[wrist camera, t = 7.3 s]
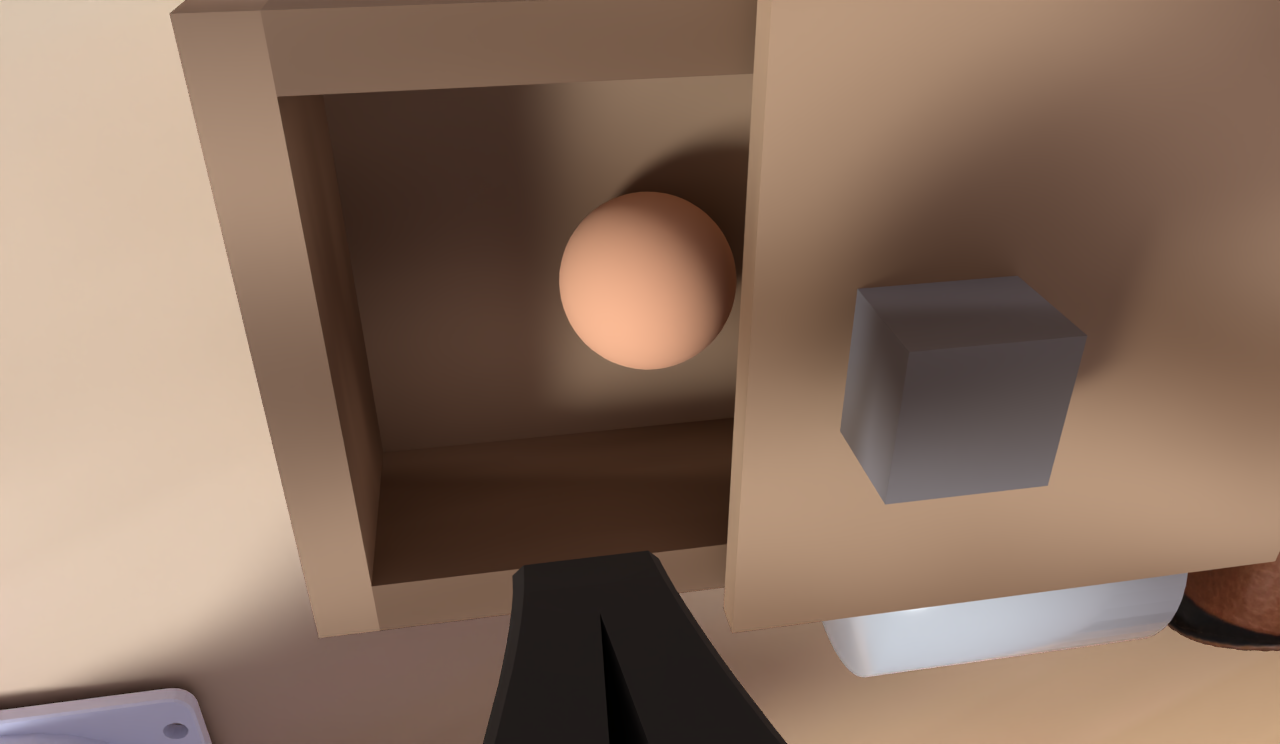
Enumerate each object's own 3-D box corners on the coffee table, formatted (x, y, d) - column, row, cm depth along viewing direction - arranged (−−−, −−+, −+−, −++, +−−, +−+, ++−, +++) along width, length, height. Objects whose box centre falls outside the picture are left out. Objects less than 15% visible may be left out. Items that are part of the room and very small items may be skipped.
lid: (1252, 540, 19) (1351, 631, 17) (723, 608, 17) (761, 717, 15) (1494, -45, 13) (1682, -15, 11) (758, -20, 12) (823, 20, 10)
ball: (710, 312, 19) (752, 394, 16) (555, 325, 18) (572, 411, 16) (716, 161, 17) (763, 227, 15) (546, 171, 17) (565, 240, 14)
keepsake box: (809, 432, 22) (886, 567, 18) (341, 480, 20) (318, 638, 16) (860, -61, 16) (983, -16, 13) (237, -44, 15) (169, 14, 11)
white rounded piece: (1019, 465, 25) (1119, 360, 20) (1095, 666, 22) (1228, 594, 18) (788, 491, 24) (841, 386, 19) (840, 702, 21) (914, 636, 17)
